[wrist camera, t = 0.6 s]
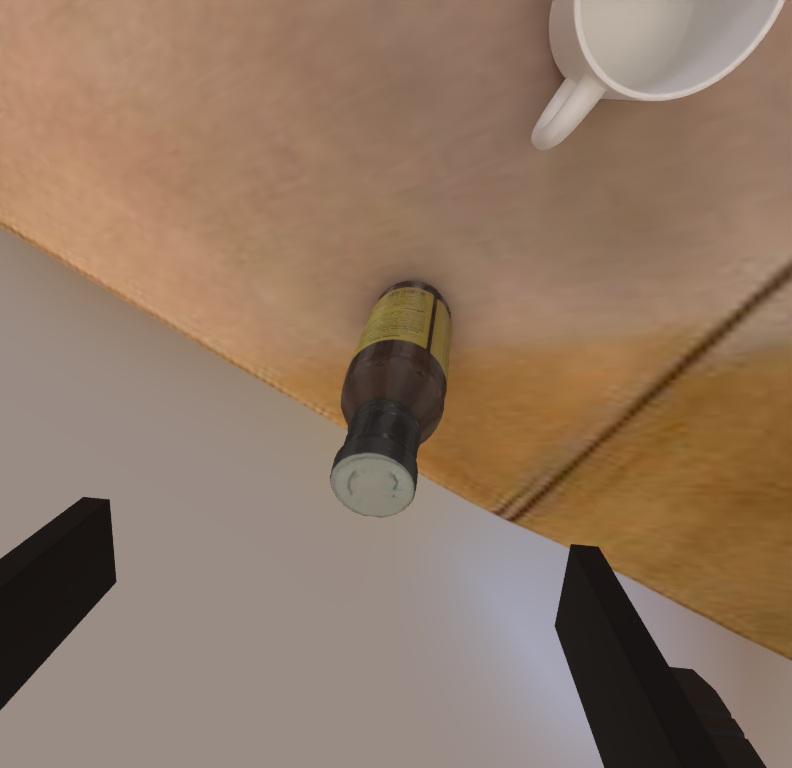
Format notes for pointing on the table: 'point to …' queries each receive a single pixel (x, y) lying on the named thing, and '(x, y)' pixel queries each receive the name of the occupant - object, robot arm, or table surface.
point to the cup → (644, 52)
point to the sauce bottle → (392, 399)
